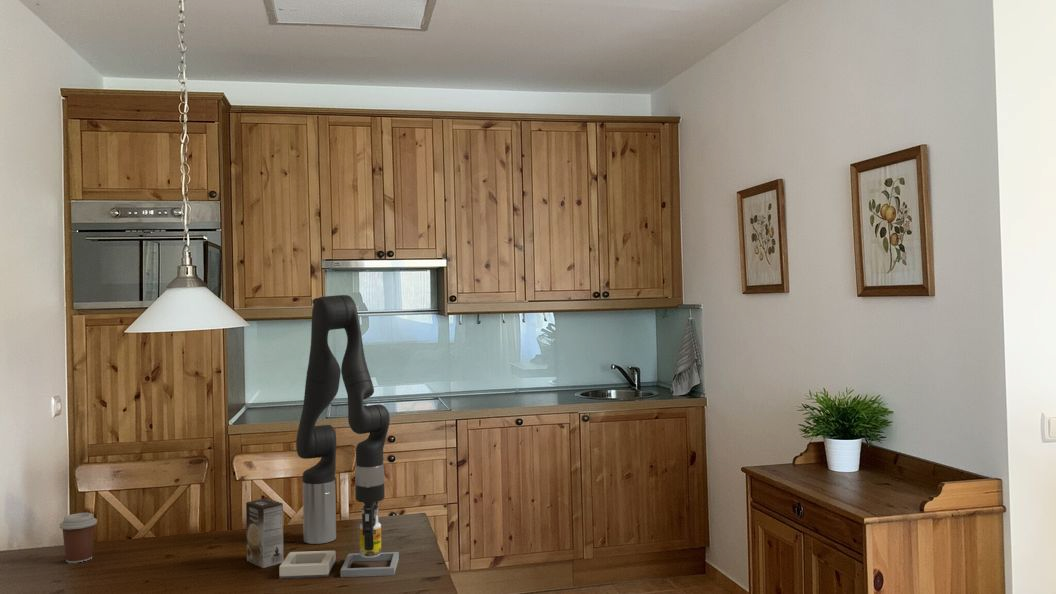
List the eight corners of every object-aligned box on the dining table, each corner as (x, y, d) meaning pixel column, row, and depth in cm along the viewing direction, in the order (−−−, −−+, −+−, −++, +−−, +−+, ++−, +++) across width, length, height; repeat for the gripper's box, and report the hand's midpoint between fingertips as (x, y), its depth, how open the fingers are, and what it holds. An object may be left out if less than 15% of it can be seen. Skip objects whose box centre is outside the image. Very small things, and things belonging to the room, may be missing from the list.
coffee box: (245, 561, 222) (244, 501, 222) (267, 555, 227) (266, 497, 227) (263, 568, 216) (262, 507, 216) (285, 562, 221) (284, 502, 221)
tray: (348, 560, 222) (348, 553, 222) (398, 558, 223) (398, 551, 223) (340, 577, 209) (340, 570, 209) (394, 575, 209) (393, 568, 209)
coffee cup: (52, 562, 224) (51, 518, 224) (84, 552, 232) (83, 510, 232) (73, 567, 220) (73, 522, 220) (105, 557, 228) (104, 513, 228)
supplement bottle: (364, 560, 212) (364, 520, 212) (356, 554, 217) (356, 515, 217) (384, 556, 215) (384, 517, 215) (376, 550, 220) (375, 512, 220)
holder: (290, 563, 220) (289, 552, 220) (335, 561, 221) (335, 550, 221) (279, 578, 208) (279, 566, 208) (327, 576, 209) (327, 565, 209)
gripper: (358, 475, 223) (359, 537, 223) (351, 489, 208) (352, 555, 209) (387, 474, 223) (387, 537, 224) (381, 488, 209) (382, 554, 209)
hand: (370, 545), depth 216 cm, fingers closed on supplement bottle, 5 cm apart
